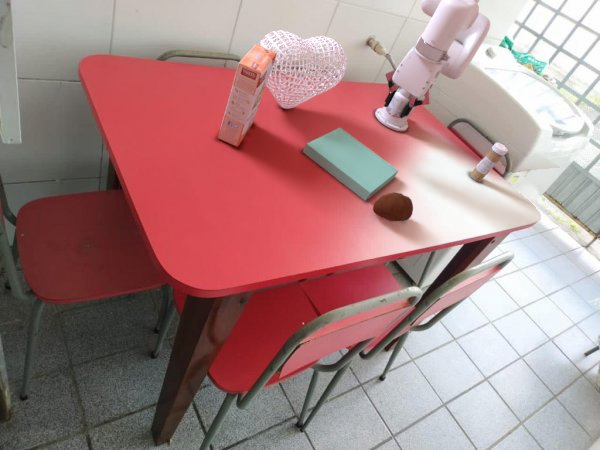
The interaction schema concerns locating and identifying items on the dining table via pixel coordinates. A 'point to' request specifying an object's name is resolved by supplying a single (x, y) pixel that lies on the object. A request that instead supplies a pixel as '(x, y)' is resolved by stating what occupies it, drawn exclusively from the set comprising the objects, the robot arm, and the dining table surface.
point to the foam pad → (351, 162)
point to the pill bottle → (398, 103)
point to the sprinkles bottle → (488, 161)
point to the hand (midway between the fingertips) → (394, 110)
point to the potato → (393, 207)
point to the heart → (304, 44)
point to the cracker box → (246, 94)
